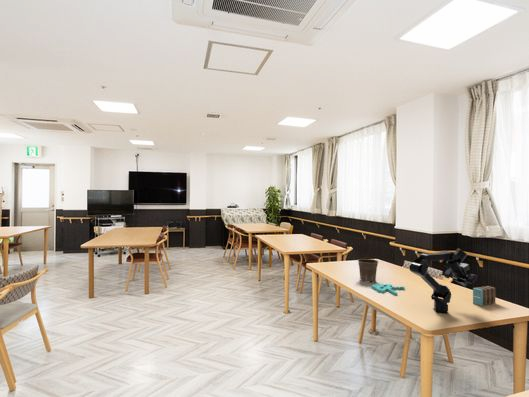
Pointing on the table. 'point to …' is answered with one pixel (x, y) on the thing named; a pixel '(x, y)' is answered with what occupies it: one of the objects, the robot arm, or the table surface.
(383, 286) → the alien figure
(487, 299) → the walnut domino
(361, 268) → the plant pot
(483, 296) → the walnut domino
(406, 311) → the table surface
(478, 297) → the teal domino
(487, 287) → the walnut domino
